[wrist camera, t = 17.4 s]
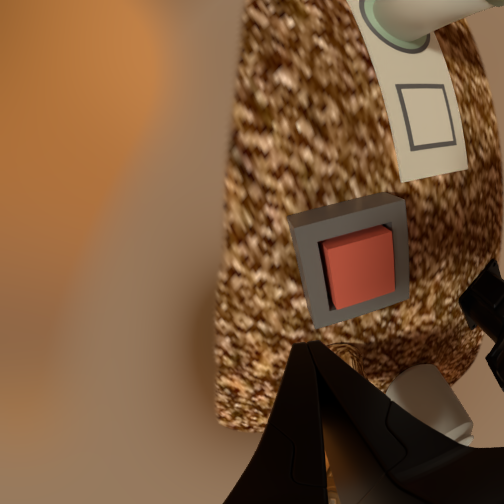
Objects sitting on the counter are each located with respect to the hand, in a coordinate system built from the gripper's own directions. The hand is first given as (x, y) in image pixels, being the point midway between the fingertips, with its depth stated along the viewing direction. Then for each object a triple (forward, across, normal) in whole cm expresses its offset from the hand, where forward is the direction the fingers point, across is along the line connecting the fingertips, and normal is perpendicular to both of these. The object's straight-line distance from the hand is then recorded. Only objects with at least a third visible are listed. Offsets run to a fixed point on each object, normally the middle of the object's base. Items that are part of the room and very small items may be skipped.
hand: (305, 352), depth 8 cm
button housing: (+12, -6, +2) cm, 13 cm away
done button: (+11, -6, +2) cm, 13 cm away
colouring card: (+12, -12, -12) cm, 21 cm away
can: (+12, -16, +19) cm, 28 cm away
